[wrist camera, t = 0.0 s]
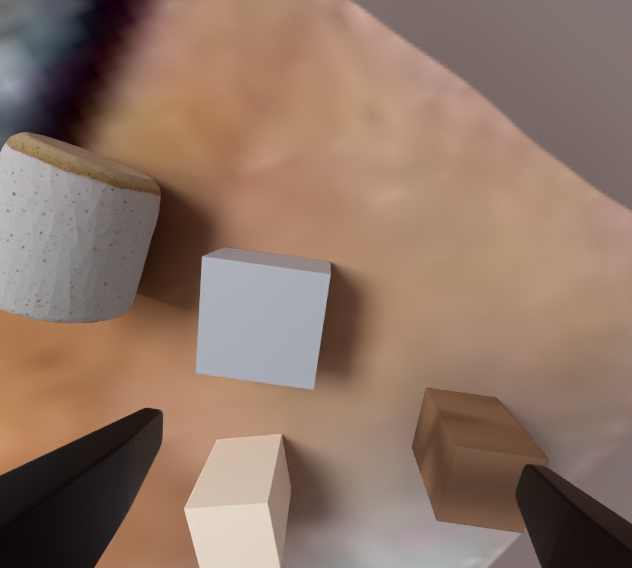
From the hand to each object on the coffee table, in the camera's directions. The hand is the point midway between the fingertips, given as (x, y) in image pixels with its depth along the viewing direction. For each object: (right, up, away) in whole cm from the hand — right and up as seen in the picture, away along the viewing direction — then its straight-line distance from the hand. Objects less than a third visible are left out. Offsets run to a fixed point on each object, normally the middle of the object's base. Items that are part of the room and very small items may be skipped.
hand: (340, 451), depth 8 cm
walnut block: (+9, -6, +16) cm, 20 cm away
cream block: (-5, -10, +18) cm, 21 cm away
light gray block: (-4, +3, +15) cm, 15 cm away
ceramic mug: (-15, +8, +14) cm, 22 cm away
